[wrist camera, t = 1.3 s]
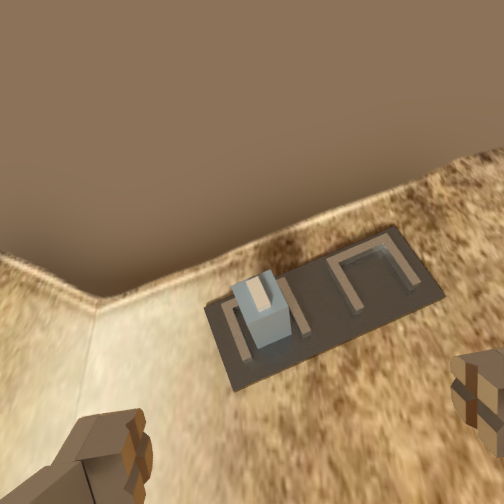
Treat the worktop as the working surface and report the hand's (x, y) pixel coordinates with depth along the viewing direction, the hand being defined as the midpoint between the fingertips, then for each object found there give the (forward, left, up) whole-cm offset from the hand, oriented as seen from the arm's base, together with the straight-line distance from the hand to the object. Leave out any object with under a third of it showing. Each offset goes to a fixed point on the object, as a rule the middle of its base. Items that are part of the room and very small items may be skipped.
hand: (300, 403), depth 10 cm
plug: (-1, -11, -30) cm, 32 cm away
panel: (-8, -11, -31) cm, 34 cm away
